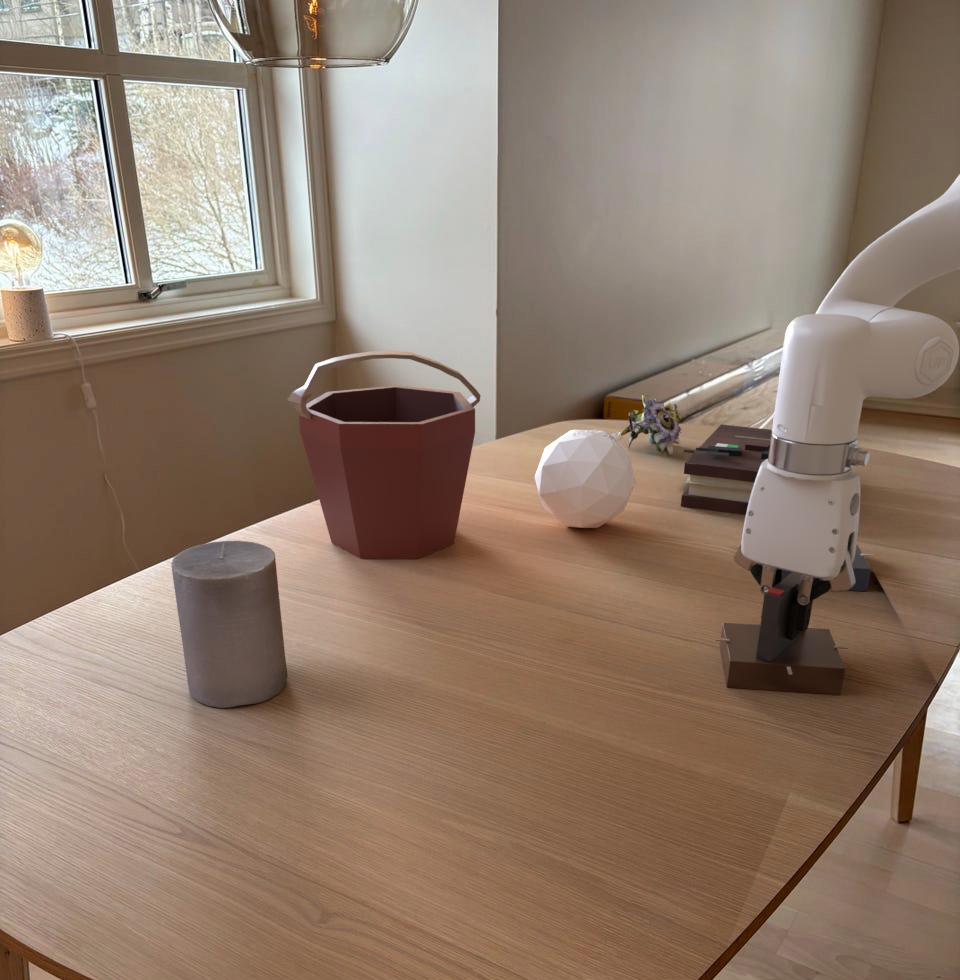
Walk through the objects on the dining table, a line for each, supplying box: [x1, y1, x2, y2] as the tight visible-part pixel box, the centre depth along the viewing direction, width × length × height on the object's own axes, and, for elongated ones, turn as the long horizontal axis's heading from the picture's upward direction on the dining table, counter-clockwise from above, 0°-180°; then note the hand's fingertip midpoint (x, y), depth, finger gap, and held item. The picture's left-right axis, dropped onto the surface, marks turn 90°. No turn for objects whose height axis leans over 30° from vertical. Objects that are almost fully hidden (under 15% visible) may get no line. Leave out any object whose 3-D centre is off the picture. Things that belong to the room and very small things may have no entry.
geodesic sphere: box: [534, 428, 637, 529], centre depth 139 cm, size 15×14×14 cm
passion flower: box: [620, 394, 682, 456], centre depth 175 cm, size 11×11×12 cm
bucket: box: [286, 350, 481, 560], centre depth 131 cm, size 24×22×25 cm
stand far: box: [783, 545, 874, 592], centre depth 124 cm, size 13×13×3 cm
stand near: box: [714, 622, 850, 696], centre depth 101 cm, size 13×13×3 cm
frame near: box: [756, 572, 804, 662], centre depth 99 cm, size 9×2×7 cm, turn 142°
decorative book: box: [680, 424, 772, 516], centre depth 155 cm, size 19×8×30 cm
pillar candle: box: [170, 540, 289, 709], centre depth 95 cm, size 10×10×15 cm
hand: (783, 630), depth 100 cm, fingers closed on frame near
